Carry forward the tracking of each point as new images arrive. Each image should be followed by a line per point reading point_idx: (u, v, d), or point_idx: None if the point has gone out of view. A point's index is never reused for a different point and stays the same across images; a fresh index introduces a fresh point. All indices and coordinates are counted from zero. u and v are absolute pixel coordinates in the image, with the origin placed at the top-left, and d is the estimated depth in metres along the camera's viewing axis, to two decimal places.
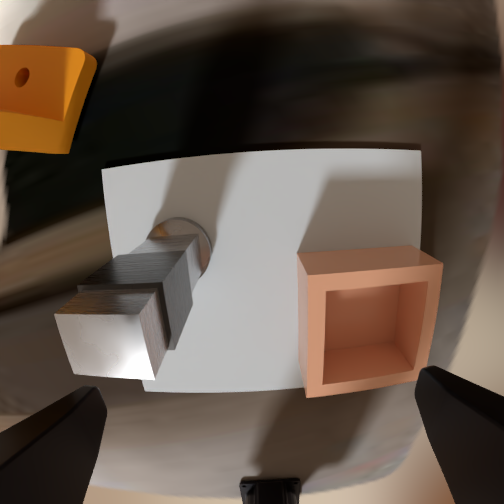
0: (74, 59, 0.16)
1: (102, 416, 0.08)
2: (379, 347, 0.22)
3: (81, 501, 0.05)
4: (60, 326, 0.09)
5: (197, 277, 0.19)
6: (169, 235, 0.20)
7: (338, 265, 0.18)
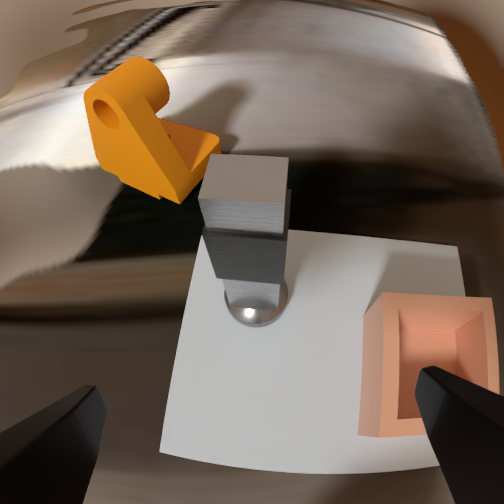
0: (210, 140, 0.29)
1: (102, 416, 0.08)
2: None
3: (81, 501, 0.05)
4: (208, 166, 0.13)
5: (278, 298, 0.20)
6: None
7: None
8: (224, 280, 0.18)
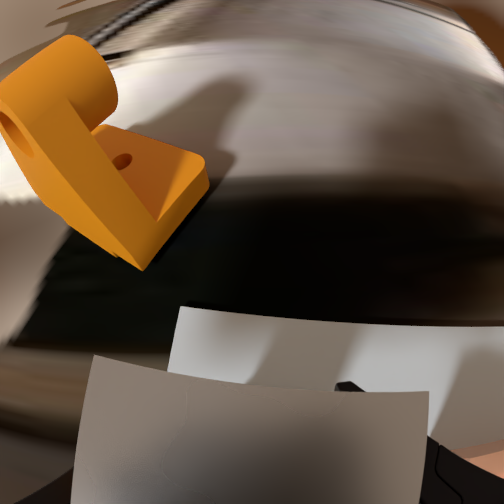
0: (191, 164, 0.18)
1: None
2: None
3: None
4: (90, 409, 0.03)
5: None
6: None
7: (490, 449, 0.09)
8: None
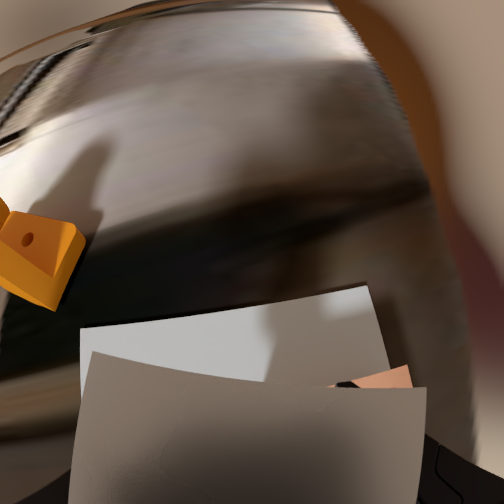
0: (68, 231, 0.24)
1: None
2: None
3: None
4: (89, 405, 0.03)
5: None
6: None
7: None
8: None
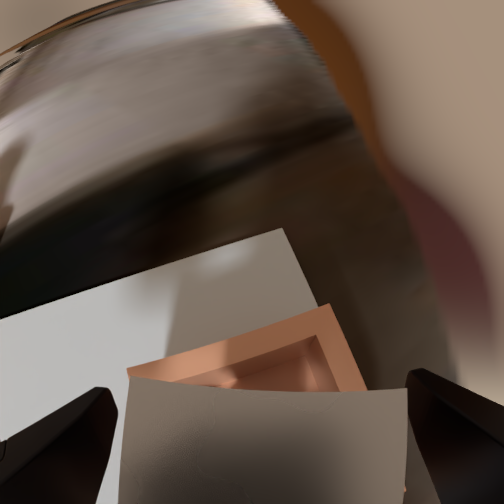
0: None
1: (113, 417, 0.08)
2: None
3: None
4: (129, 421, 0.03)
5: None
6: None
7: None
8: None
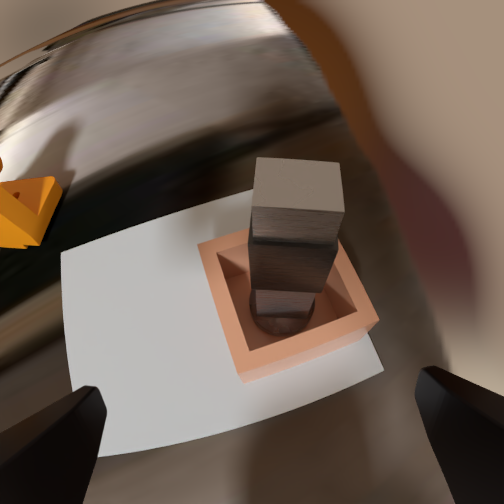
0: (48, 182, 0.28)
1: (102, 416, 0.08)
2: None
3: (81, 501, 0.05)
4: (255, 170, 0.12)
5: None
6: None
7: None
8: (258, 290, 0.17)
